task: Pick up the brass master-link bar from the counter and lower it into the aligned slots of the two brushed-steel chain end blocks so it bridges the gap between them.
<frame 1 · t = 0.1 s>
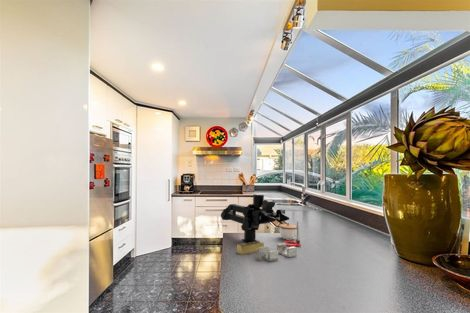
hand: (282, 219, 115), 17 cm above the countertop, tool horizontal, fingers open, 9 cm apart
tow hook: (291, 245, 131), on the countertop
lidded jar: (287, 239, 144), on the countertop
chain ends: (277, 256, 110), on the countertop
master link: (250, 251, 116), on the countertop
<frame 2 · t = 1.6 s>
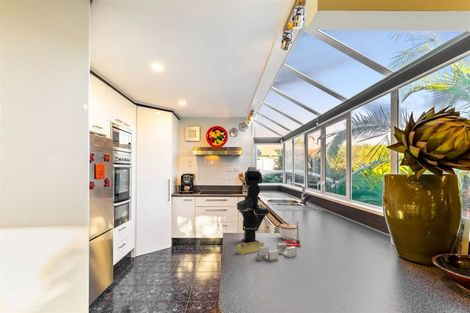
hand: (251, 226, 117), 12 cm above the countertop, tool pointing down, fingers open, 9 cm apart
nothing on the countertop moved.
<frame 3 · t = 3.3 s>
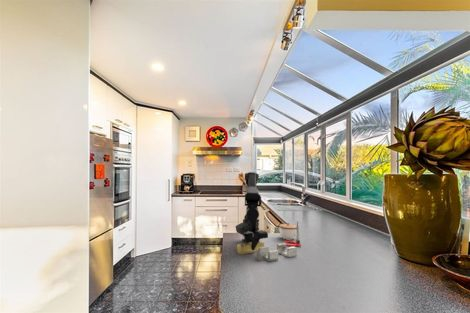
hand: (250, 249, 116), 1 cm above the countertop, tool pointing down, fingers closed on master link, 3 cm apart
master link: (250, 251, 116), on the countertop, touching gripper
everything else where it was.
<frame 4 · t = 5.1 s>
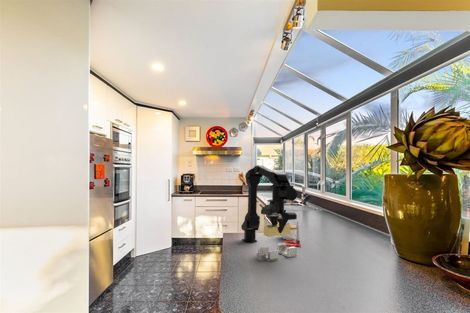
hand: (277, 232, 111), 11 cm above the countertop, tool pointing down, fingers closed on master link, 3 cm apart
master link: (277, 234, 111), point 10 cm above the countertop, touching gripper
everything else where it was.
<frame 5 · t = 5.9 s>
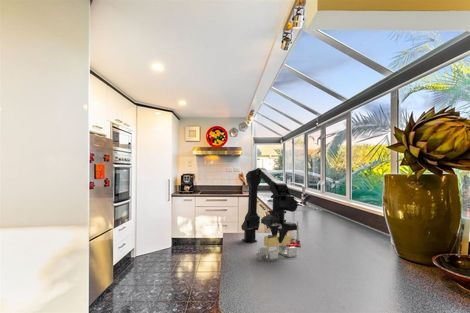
hand: (277, 242, 111), 6 cm above the countertop, tool pointing down, fingers closed on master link, 3 cm apart
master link: (277, 244, 111), point 5 cm above the countertop, touching gripper
everything else where it was.
when the fingers open (4 cm above the countertop, at t = 6.6 s): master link drops 2 cm, resting on chain ends.
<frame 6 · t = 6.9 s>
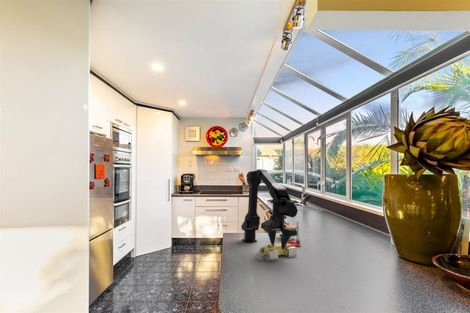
hand: (277, 247, 111), 4 cm above the countertop, tool pointing down, fingers open, 6 cm apart
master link: (277, 253, 111), point 1 cm above the countertop, touching chain ends
everything else where it was.
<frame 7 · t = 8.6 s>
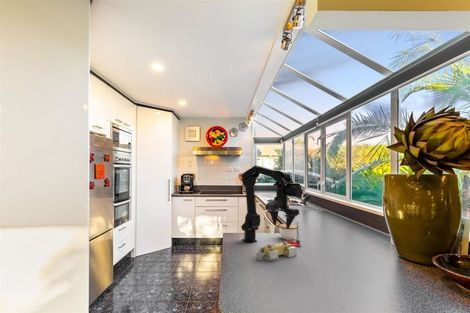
hand: (280, 226, 118), 12 cm above the countertop, tool pointing down, fingers open, 9 cm apart
nothing on the countertop moved.
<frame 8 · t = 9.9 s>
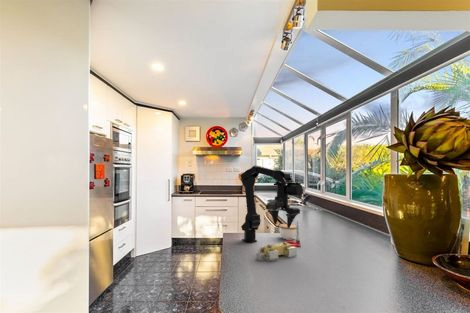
hand: (281, 225, 119), 13 cm above the countertop, tool pointing down, fingers open, 9 cm apart
nothing on the countertop moved.
at the end: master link 0.1 cm off-centre on the chain ends, point 1.0 cm above the chain ends's base; the gripper is holding nothing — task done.
